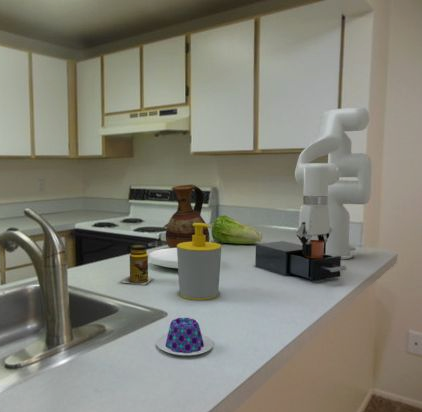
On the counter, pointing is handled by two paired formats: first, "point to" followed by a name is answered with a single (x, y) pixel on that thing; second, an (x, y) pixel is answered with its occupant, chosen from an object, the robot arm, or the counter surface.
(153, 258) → the plate
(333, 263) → the drawer
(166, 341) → the pudding
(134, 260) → the condiment
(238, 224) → the lettuce
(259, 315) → the counter surface
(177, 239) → the ceramic pitcher
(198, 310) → the counter surface
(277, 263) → the dark gray drawer box
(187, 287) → the soap bottle
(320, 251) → the cup
